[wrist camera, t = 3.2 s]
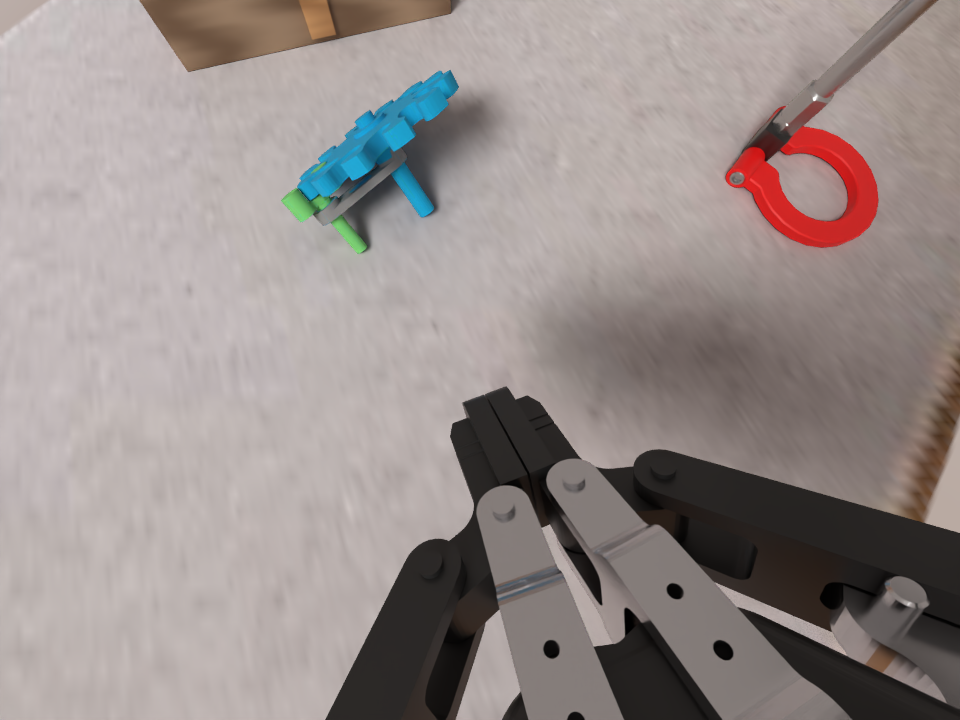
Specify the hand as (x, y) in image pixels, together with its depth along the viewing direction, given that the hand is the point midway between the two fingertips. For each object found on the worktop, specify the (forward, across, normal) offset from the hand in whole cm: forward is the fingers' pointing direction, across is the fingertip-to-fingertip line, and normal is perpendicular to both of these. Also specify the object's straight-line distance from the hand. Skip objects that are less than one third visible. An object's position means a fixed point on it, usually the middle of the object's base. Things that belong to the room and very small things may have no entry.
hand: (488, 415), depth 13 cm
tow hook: (+12, -26, +2) cm, 29 cm away
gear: (+18, 0, -4) cm, 19 cm away
